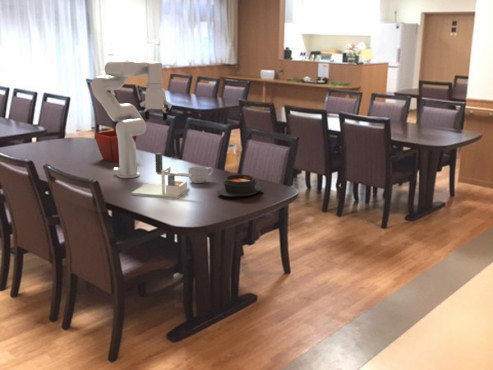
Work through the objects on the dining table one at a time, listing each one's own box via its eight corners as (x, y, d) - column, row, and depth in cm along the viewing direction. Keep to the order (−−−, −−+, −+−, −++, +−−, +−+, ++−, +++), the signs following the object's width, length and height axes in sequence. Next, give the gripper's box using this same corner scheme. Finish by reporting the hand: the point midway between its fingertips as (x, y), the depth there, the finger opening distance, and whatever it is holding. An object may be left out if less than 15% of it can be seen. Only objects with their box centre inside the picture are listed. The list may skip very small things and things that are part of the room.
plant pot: (95, 159, 357) (93, 132, 353) (121, 154, 370) (120, 129, 366) (111, 164, 344) (110, 137, 340) (138, 159, 357) (137, 133, 353)
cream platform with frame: (131, 194, 283) (130, 170, 279) (146, 185, 299) (145, 162, 296) (176, 199, 277) (176, 174, 274) (189, 189, 294) (189, 165, 290)
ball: (176, 193, 284) (170, 188, 284) (179, 191, 288) (173, 186, 288) (181, 188, 283) (175, 183, 283) (184, 186, 286) (178, 181, 286)
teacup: (190, 185, 302) (190, 170, 300) (186, 180, 312) (186, 165, 310) (215, 183, 305) (215, 169, 303) (211, 178, 315) (211, 164, 313)
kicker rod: (155, 189, 286) (154, 154, 281) (159, 187, 290) (158, 152, 286) (190, 192, 281) (189, 156, 277) (193, 190, 286) (193, 154, 281)
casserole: (246, 186, 302) (247, 170, 300) (270, 194, 288) (270, 178, 286) (208, 194, 287) (208, 177, 284) (231, 202, 273) (232, 186, 271)
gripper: (136, 86, 289) (137, 119, 293) (168, 87, 285) (169, 121, 289) (142, 85, 296) (143, 117, 300) (173, 86, 292) (174, 119, 296)
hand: (156, 119), depth 295 cm, fingers open, 9 cm apart
